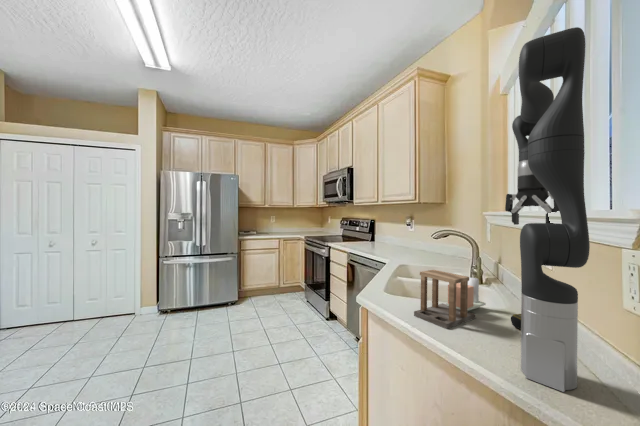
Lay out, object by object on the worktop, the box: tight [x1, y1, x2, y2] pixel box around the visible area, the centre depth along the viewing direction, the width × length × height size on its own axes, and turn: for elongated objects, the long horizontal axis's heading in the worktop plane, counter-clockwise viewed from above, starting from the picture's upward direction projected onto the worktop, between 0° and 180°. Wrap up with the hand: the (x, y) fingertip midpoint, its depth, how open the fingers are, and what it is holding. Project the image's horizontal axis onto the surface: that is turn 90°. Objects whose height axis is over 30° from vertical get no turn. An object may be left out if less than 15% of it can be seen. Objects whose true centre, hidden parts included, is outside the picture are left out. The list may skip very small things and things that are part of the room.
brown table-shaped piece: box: [413, 269, 476, 330], centre depth 89 cm, size 16×13×15 cm
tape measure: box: [510, 313, 521, 330], centre depth 81 cm, size 7×7×4 cm
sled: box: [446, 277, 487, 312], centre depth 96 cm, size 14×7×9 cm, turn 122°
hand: (531, 225), depth 84 cm, fingers open, 8 cm apart
